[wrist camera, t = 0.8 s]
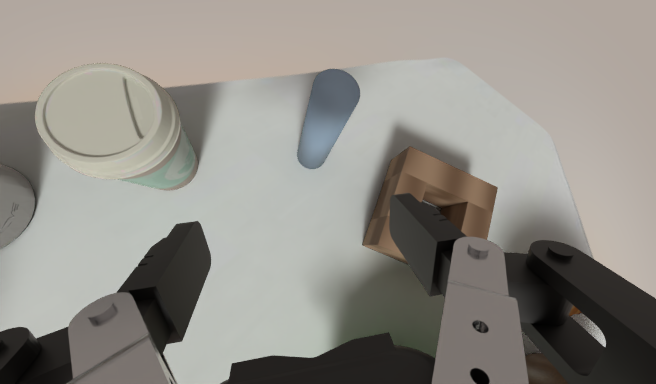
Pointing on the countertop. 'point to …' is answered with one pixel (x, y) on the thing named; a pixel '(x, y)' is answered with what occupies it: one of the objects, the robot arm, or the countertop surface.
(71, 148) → the coffee cup
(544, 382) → the plant pot
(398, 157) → the socket block
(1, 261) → the countertop surface
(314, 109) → the dowel
